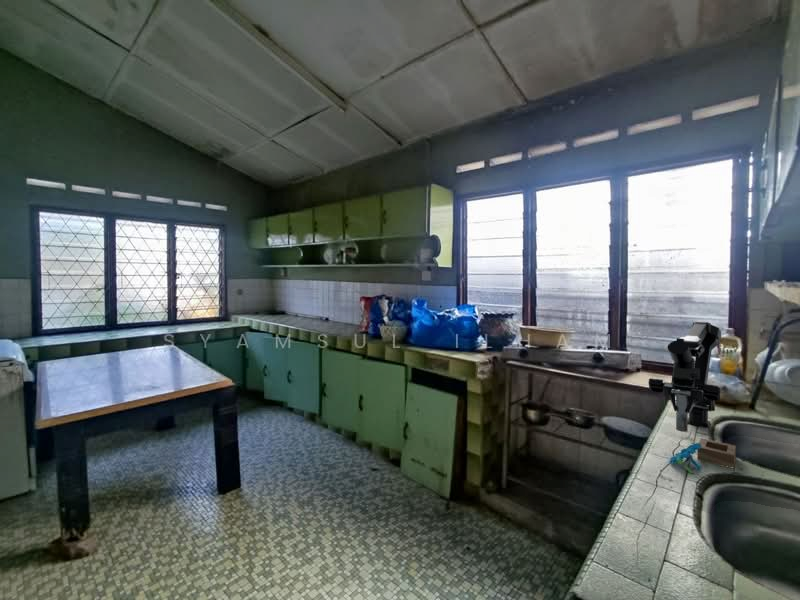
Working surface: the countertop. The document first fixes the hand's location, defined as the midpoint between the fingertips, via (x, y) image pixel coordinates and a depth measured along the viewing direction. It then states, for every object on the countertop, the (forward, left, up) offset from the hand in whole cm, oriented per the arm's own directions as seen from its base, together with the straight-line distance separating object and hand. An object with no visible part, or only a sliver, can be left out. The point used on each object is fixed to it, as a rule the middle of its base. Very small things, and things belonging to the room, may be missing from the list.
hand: (681, 411), depth 117 cm
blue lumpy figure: (+10, +2, -14) cm, 17 cm away
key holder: (-1, +8, -13) cm, 16 cm away
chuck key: (-1, 0, -7) cm, 7 cm away
